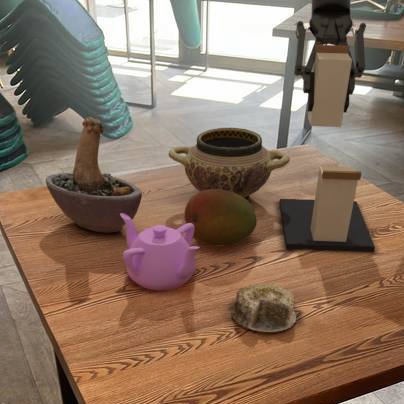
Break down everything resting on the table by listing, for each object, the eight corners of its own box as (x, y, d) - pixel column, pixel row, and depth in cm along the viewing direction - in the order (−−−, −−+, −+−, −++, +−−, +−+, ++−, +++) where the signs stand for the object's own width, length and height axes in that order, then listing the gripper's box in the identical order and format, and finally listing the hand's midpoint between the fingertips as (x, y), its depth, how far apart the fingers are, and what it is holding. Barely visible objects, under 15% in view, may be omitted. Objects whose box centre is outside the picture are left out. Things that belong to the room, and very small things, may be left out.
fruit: (175, 237, 107) (174, 186, 101) (228, 221, 113) (230, 171, 107) (212, 263, 100) (213, 209, 94) (266, 244, 106) (271, 192, 99)
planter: (145, 240, 106) (139, 130, 93) (53, 249, 103) (34, 135, 90) (134, 207, 117) (128, 104, 105) (51, 214, 114) (34, 108, 102)
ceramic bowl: (284, 203, 127) (292, 130, 120) (284, 217, 111) (293, 134, 104) (176, 195, 129) (177, 123, 123) (160, 208, 113) (161, 127, 107)
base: (355, 205, 120) (369, 136, 111) (373, 251, 104) (391, 175, 95) (279, 203, 120) (286, 133, 111) (286, 248, 105) (295, 172, 96)
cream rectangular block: (337, 117, 118) (349, 45, 109) (342, 127, 113) (354, 52, 104) (306, 116, 118) (315, 44, 110) (309, 126, 113) (319, 51, 105)
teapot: (198, 296, 92) (199, 246, 86) (113, 293, 92) (108, 243, 87) (201, 259, 101) (202, 212, 95) (124, 256, 101) (120, 209, 96)
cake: (222, 307, 91) (223, 276, 87) (279, 298, 93) (282, 267, 90) (245, 339, 83) (247, 306, 80) (307, 328, 85) (311, 296, 82)
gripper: (374, 12, 117) (372, 119, 114) (281, 9, 117) (277, 116, 115) (384, -16, 109) (383, 99, 107) (285, -18, 110) (281, 95, 108)
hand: (328, 108), depth 111 cm, fingers closed on cream rectangular block, 6 cm apart
